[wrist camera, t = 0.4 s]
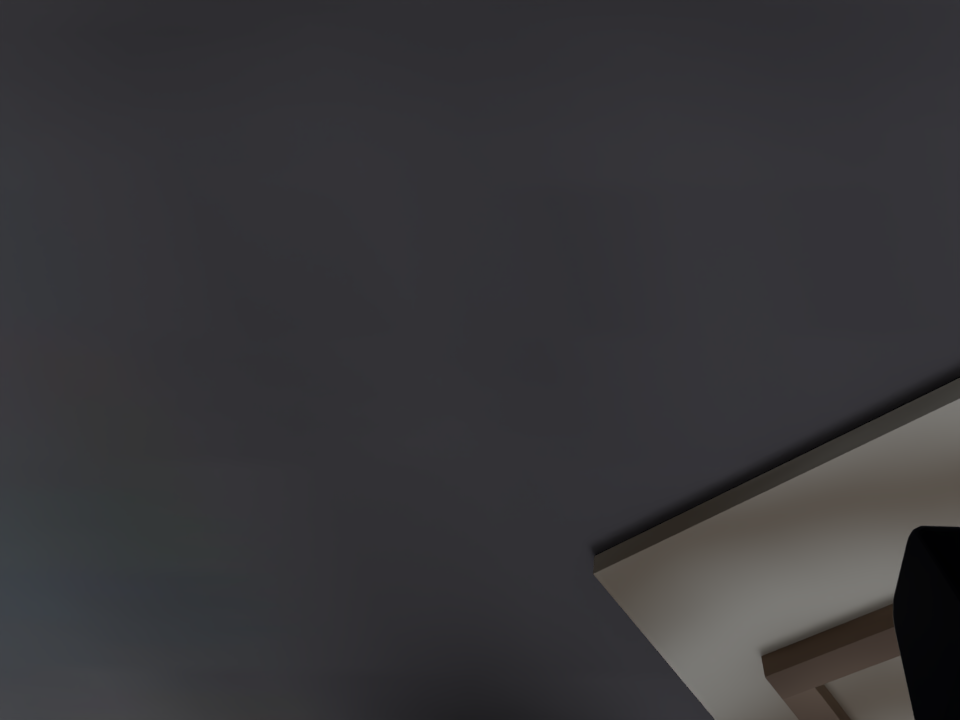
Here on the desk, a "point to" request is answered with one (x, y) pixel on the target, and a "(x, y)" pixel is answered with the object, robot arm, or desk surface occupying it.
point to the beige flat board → (797, 573)
